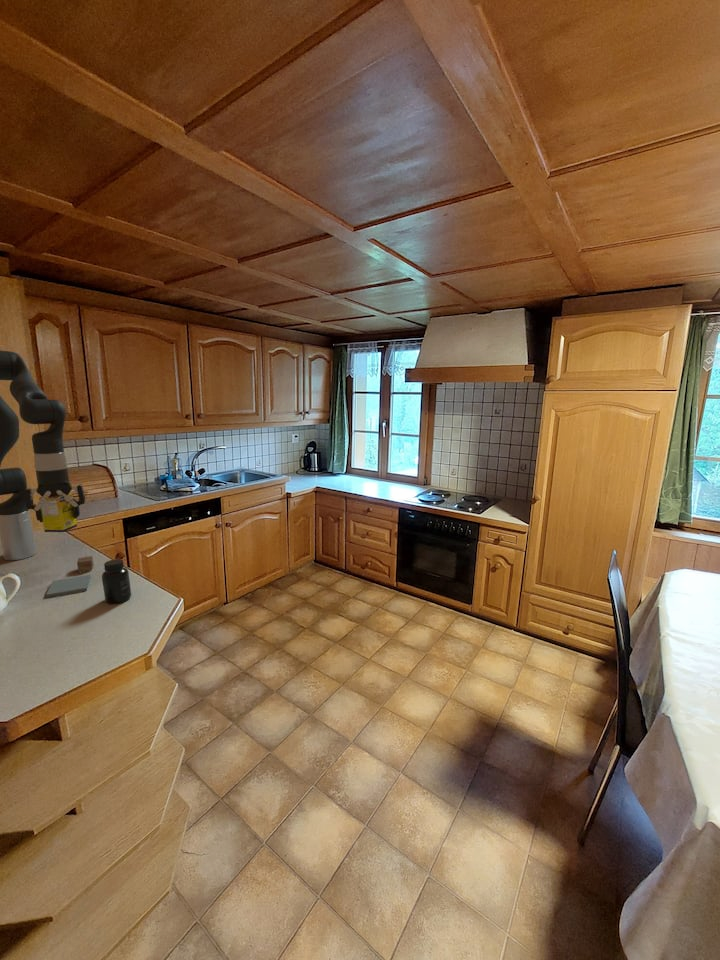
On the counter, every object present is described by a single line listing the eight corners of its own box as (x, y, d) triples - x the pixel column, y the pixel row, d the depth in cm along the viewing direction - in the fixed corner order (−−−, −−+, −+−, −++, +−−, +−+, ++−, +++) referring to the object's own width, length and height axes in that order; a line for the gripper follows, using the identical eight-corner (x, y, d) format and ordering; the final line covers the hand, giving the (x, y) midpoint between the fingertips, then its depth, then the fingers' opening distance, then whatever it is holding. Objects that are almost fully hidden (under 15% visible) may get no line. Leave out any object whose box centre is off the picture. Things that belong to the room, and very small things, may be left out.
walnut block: (80, 568, 137) (78, 557, 137) (93, 566, 139) (92, 556, 138) (78, 573, 134) (77, 562, 133) (92, 570, 136) (91, 560, 135)
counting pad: (53, 583, 126) (52, 580, 126) (90, 577, 131) (90, 574, 130) (46, 597, 117) (46, 594, 117) (86, 590, 122) (86, 587, 122)
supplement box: (77, 526, 123) (73, 492, 121) (63, 532, 117) (58, 497, 115) (58, 526, 123) (54, 492, 121) (43, 532, 117) (38, 497, 115)
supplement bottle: (127, 591, 123) (124, 555, 120) (134, 599, 118) (130, 562, 115) (102, 598, 118) (97, 561, 115) (108, 607, 113) (103, 569, 111)
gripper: (82, 464, 123) (88, 513, 126) (24, 467, 116) (32, 519, 119) (78, 467, 116) (85, 520, 120) (17, 471, 110) (26, 526, 113)
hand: (59, 519), depth 119 cm, fingers closed on supplement box, 8 cm apart
